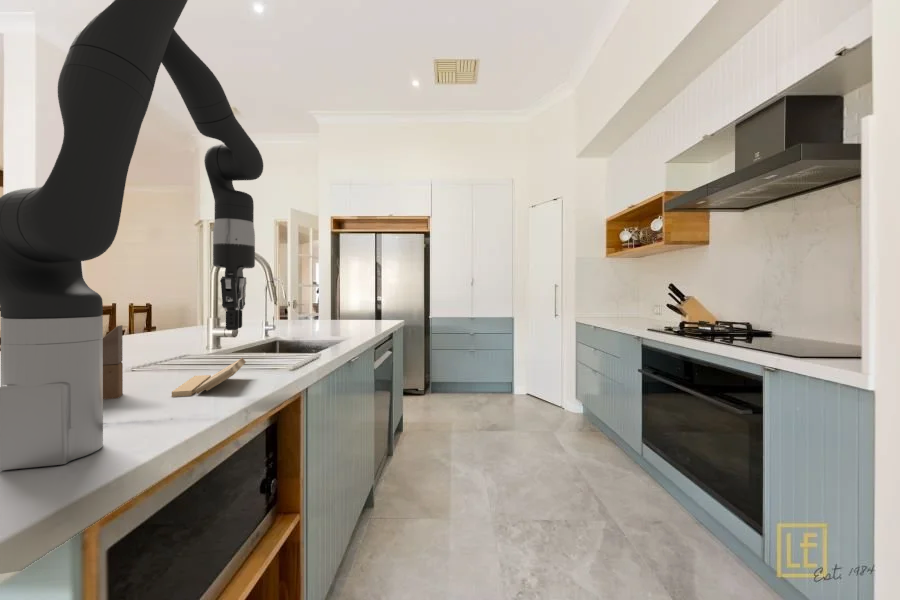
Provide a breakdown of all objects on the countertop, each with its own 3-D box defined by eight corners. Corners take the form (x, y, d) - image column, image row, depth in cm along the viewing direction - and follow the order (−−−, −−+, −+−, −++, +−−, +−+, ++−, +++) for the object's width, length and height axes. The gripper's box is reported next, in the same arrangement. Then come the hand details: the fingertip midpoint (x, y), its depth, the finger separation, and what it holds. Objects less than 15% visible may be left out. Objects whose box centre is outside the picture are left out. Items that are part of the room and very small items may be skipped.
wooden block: (118, 402, 77) (118, 305, 77) (40, 410, 72) (39, 305, 72) (123, 398, 80) (122, 304, 80) (48, 404, 75) (48, 305, 75)
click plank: (233, 375, 81) (229, 369, 81) (198, 396, 80) (194, 390, 79) (246, 362, 97) (242, 357, 96) (217, 379, 95) (213, 374, 94)
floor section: (239, 397, 81) (239, 388, 81) (170, 401, 78) (170, 392, 78) (251, 380, 97) (251, 372, 97) (195, 383, 94) (195, 375, 94)
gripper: (249, 240, 79) (249, 331, 79) (258, 248, 92) (258, 326, 92) (204, 238, 76) (204, 332, 76) (220, 247, 90) (220, 326, 90)
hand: (234, 328), depth 84 cm, fingers open, 3 cm apart
